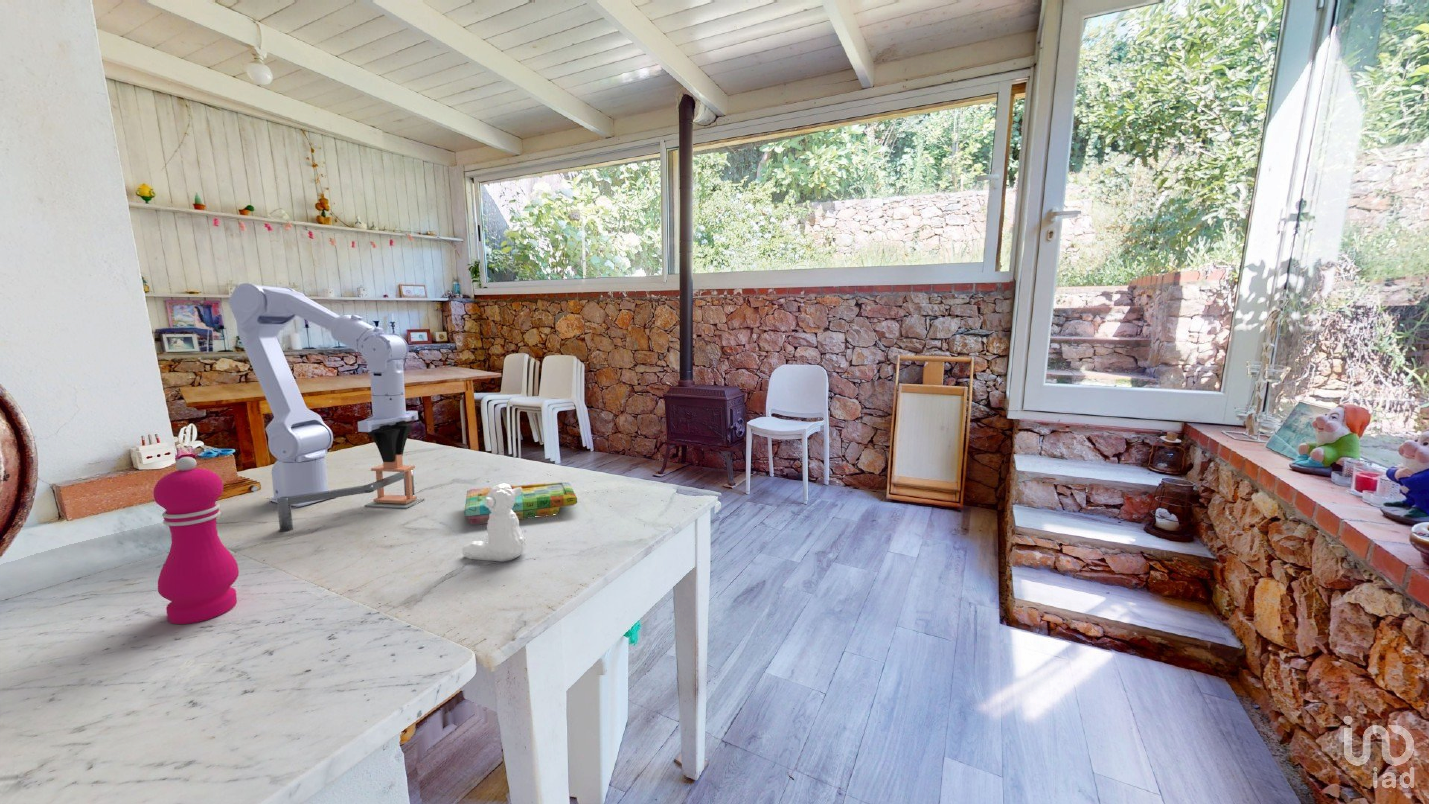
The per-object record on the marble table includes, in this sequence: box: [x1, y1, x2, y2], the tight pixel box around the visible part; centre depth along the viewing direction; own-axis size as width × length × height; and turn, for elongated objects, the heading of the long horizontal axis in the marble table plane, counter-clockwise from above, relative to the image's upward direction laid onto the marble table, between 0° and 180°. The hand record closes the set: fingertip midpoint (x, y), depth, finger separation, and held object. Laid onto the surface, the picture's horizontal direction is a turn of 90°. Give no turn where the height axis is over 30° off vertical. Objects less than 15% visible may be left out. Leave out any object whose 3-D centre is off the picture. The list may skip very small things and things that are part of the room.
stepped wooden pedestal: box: [370, 454, 418, 504], centre depth 106 cm, size 3×7×10 cm, turn 85°
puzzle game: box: [464, 481, 578, 525], centre depth 104 cm, size 12×5×20 cm
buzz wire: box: [276, 469, 415, 533], centre depth 101 cm, size 8×24×6 cm, turn 160°
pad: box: [364, 497, 424, 510], centre depth 107 cm, size 6×9×1 cm, turn 85°
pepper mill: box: [152, 456, 240, 625], centre depth 64 cm, size 7×7×20 cm
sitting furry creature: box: [461, 482, 526, 563], centre depth 83 cm, size 10×9×12 cm
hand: (392, 460), depth 105 cm, fingers closed on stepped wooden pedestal, 2 cm apart
